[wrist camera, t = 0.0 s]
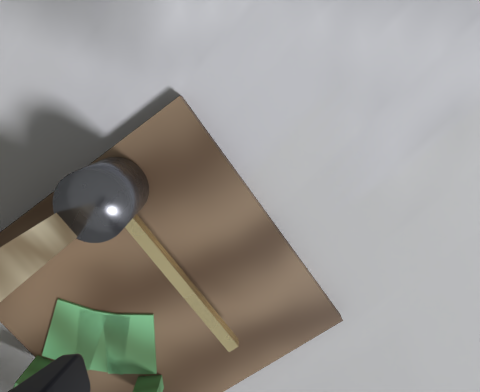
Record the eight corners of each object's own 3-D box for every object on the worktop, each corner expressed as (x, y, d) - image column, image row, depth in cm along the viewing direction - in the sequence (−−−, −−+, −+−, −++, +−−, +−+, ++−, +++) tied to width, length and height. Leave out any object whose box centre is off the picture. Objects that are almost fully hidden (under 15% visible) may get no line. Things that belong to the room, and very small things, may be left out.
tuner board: (339, 313, 25) (354, 345, 21) (122, 443, 28) (106, 488, 24) (181, 96, 21) (171, 95, 18) (-48, 270, 24) (-92, 296, 21)
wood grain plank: (257, 316, 24) (272, 526, 12) (92, 418, 26) (-31, 682, 14) (121, 144, 21) (-29, 201, 9) (-51, 274, 23) (-348, 453, 11)
